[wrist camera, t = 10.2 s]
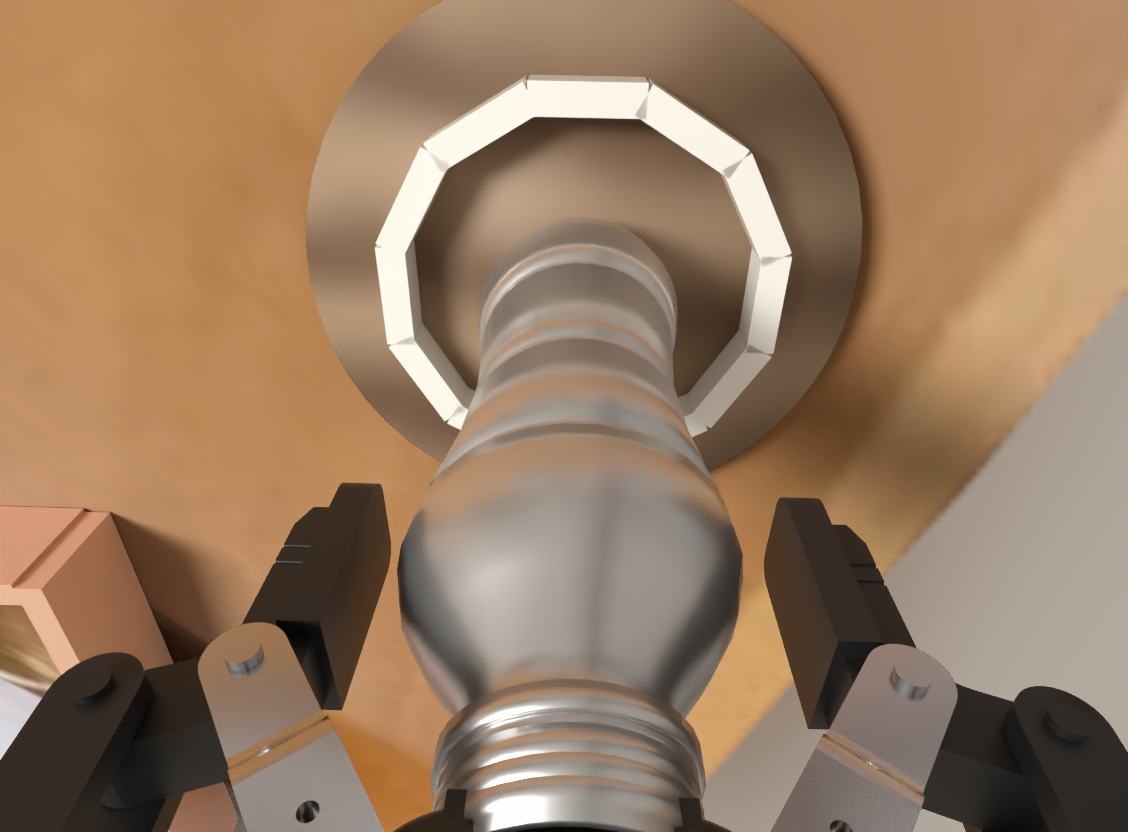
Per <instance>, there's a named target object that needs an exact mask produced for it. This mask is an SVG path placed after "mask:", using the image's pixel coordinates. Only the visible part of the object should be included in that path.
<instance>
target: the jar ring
mask: <svg viewBox="0 0 1128 832" xmlns="http://www.w3.org/2000/svg"><path fill="white" fill-rule="evenodd" d="M533 117H569V118H616V119H641V120H642V121H644V122H645V123H647V124H648V125H650V126H651V127H653V128H654V129H656V130H657V131H659V132H660V133H662V134H663V135H665V136H666V137H668V138H669V139H670V140H672V141H673V142H675V143H676V144H678V145H679V146H681V147H682V148H684V149H685V150H687V151H688V152H690V153H691V154H693V155H694V156H696V157H697V158H699V159H700V160H702V161H703V162H705V163H706V164H708V165H709V166H711V167H712V168H714V169H715V170H717V171H718V172H720V174H721V176H722V178H723V181H724V183H725V185H726V188H727V190H728V192H729V195H730V197H731V199H732V202H733V204H734V207H735V209H736V211H737V214H738V216H739V218H740V221H741V223H742V225H743V228H744V230H745V232H746V235H747V237H748V239H749V242H750V244H751V247H752V251H751V257H750V264H749V270H748V276H747V282H746V288H745V294H744V300H743V307H742V313H741V319H740V325H739V331H738V332H737V333H736V335H735V336H734V337H733V338H732V339H731V341H730V342H729V343H728V344H727V346H726V347H725V348H724V349H723V351H722V352H721V353H720V354H719V356H718V357H717V358H716V359H715V360H714V362H713V363H712V364H711V365H710V367H709V368H708V369H707V370H706V372H705V373H704V374H703V375H702V377H701V378H700V379H699V380H698V382H697V383H696V384H695V385H694V386H693V388H692V389H691V390H690V391H689V393H688V394H685V395H683V396H681V397H679V398H678V400H679V404H680V407H681V410H682V413H683V416H684V419H685V423H686V426H687V429H688V431H689V433H690V435H691V437H694V436H696V435H698V434H701V433H703V432H705V431H708V429H707V426H708V427H710V428H712V426H713V425H714V424H715V423H716V422H717V421H718V419H719V418H720V417H721V416H722V415H723V414H724V412H725V411H726V410H727V409H728V408H729V407H730V405H731V404H732V403H733V402H734V401H735V400H736V398H737V397H738V396H739V395H740V394H741V393H742V391H743V390H744V389H745V388H746V387H747V386H748V384H749V383H750V382H751V381H752V380H753V379H754V377H755V376H756V375H757V374H758V373H759V372H760V370H761V369H762V368H763V367H764V366H765V365H766V363H767V362H768V361H769V360H770V359H771V358H772V357H771V355H770V354H773V353H774V348H775V343H776V338H777V333H778V327H779V322H780V317H781V312H782V307H783V302H784V297H785V292H786V286H787V281H788V276H789V271H790V266H791V261H792V257H791V255H790V254H791V250H790V247H789V245H788V242H787V240H786V237H785V235H784V232H783V230H782V227H781V225H780V222H779V220H778V217H777V215H776V212H775V210H774V207H773V205H772V202H771V200H770V197H769V194H768V192H767V189H766V187H765V184H764V182H763V179H762V177H761V174H760V172H759V169H758V167H757V164H756V162H755V159H754V157H753V154H752V153H751V152H750V150H749V149H748V148H747V147H746V146H745V145H744V144H743V143H742V142H741V141H740V140H738V139H737V138H735V137H734V136H732V135H731V134H729V133H728V132H727V131H725V130H724V129H722V128H721V127H719V126H718V125H716V124H715V123H713V122H712V121H711V120H709V119H708V118H706V117H705V116H703V115H702V114H700V113H699V112H698V111H696V110H695V109H693V108H692V107H690V106H689V105H687V104H686V103H684V102H683V101H682V100H680V99H679V98H677V97H676V96H674V95H673V94H671V93H670V92H669V91H667V90H666V89H664V88H663V87H661V86H660V85H658V84H657V83H655V82H654V81H653V80H651V79H650V78H649V80H648V81H647V79H646V78H645V77H624V76H575V75H530V76H529V78H528V79H527V77H526V76H525V77H523V78H522V79H520V80H519V81H517V82H515V83H514V84H512V85H511V86H509V87H507V88H506V89H504V90H503V91H501V92H499V93H498V94H496V95H495V96H493V97H491V98H490V99H488V100H486V101H485V102H483V103H482V104H480V105H478V106H477V107H475V108H474V109H472V110H470V111H469V112H467V113H466V114H464V115H462V116H461V117H459V118H458V119H456V120H454V121H453V122H451V123H450V124H448V125H446V126H445V127H443V128H442V129H440V130H438V131H437V132H435V133H434V134H432V135H431V136H430V137H429V138H428V139H427V140H426V141H425V142H424V143H423V144H422V145H421V146H420V148H419V150H418V153H417V155H416V157H415V159H414V161H413V163H412V165H411V168H410V170H409V172H408V174H407V176H406V178H405V181H404V183H403V185H402V187H401V189H400V191H399V193H398V196H397V198H396V200H395V202H394V204H393V206H392V209H391V211H390V213H389V215H388V217H387V219H386V222H385V224H384V226H383V228H382V230H381V232H380V234H379V237H378V239H377V241H376V243H375V244H377V245H376V247H375V254H376V261H377V269H378V277H379V284H380V292H381V300H382V307H383V315H384V322H385V330H386V338H387V344H391V345H390V346H389V349H390V350H391V351H392V353H393V354H394V355H395V356H396V358H397V359H398V360H399V362H400V363H401V364H402V366H403V367H404V368H405V370H406V371H407V372H408V374H409V375H410V376H411V378H412V379H413V380H414V382H415V383H416V384H417V386H418V387H419V388H420V390H421V391H422V392H423V394H424V395H425V396H426V397H427V399H428V400H429V401H430V403H431V404H432V405H433V407H434V408H435V409H436V411H437V412H438V413H439V415H440V416H441V417H442V419H443V420H444V421H446V420H448V423H447V424H449V425H451V426H453V427H455V428H457V429H459V430H461V428H462V425H463V423H464V420H465V417H466V414H467V412H468V409H469V406H470V404H471V402H472V400H473V396H474V393H475V391H474V390H472V389H470V388H469V387H468V386H467V385H466V383H465V382H464V380H463V379H462V378H461V376H460V375H459V373H458V372H457V371H456V369H455V368H454V366H453V365H452V364H451V362H450V361H449V359H448V358H447V357H446V355H445V354H444V352H443V351H442V350H441V348H440V347H439V345H438V344H437V343H436V341H435V340H434V338H433V337H432V336H431V334H430V333H429V331H428V330H427V329H426V327H425V326H424V324H423V323H422V314H421V304H420V294H419V284H418V274H417V264H416V254H415V244H414V239H415V237H416V235H417V233H418V231H419V229H420V227H421V225H422V223H423V221H424V219H425V217H426V215H427V213H428V211H429V209H430V207H431V205H432V203H433V201H434V199H435V197H436V195H437V192H438V190H439V188H440V186H441V184H442V182H443V180H444V178H445V176H446V174H447V172H448V170H449V168H450V167H451V166H453V165H455V164H456V163H458V162H460V161H461V160H463V159H465V158H466V157H468V156H470V155H471V154H473V153H475V152H476V151H478V150H480V149H481V148H483V147H485V146H486V145H488V144H490V143H491V142H493V141H495V140H496V139H498V138H500V137H501V136H503V135H504V134H506V133H508V132H509V131H511V130H513V129H514V128H516V127H518V126H519V125H521V124H523V123H524V122H526V121H528V120H529V119H531V118H533Z"/></svg>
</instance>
